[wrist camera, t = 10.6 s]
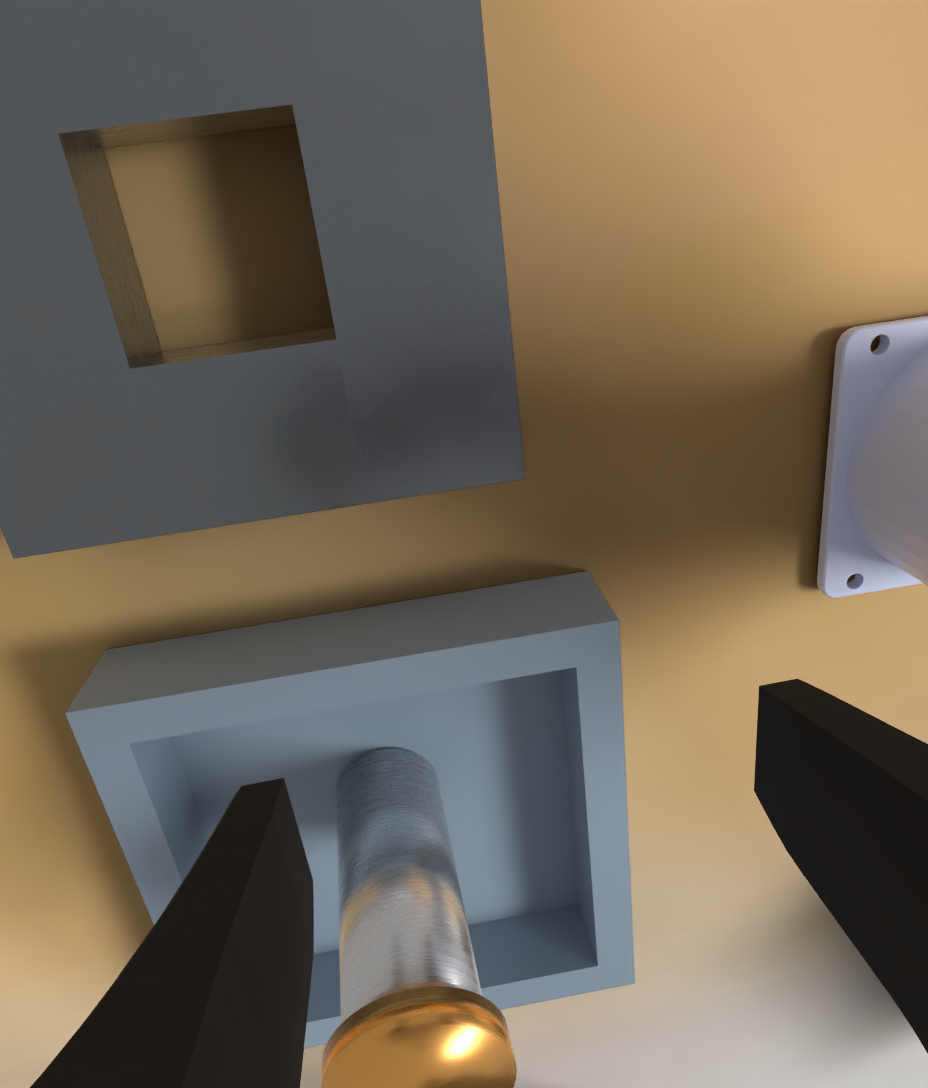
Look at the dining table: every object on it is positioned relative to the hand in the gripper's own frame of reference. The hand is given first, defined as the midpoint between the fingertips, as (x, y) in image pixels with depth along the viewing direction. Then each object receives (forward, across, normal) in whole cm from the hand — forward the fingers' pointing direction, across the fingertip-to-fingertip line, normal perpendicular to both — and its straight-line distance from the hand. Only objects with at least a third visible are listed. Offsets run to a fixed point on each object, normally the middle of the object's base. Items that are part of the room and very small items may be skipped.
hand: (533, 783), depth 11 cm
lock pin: (+10, +3, +8) cm, 13 cm away
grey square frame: (+10, +4, -8) cm, 14 cm away
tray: (+10, +3, +9) cm, 14 cm away
